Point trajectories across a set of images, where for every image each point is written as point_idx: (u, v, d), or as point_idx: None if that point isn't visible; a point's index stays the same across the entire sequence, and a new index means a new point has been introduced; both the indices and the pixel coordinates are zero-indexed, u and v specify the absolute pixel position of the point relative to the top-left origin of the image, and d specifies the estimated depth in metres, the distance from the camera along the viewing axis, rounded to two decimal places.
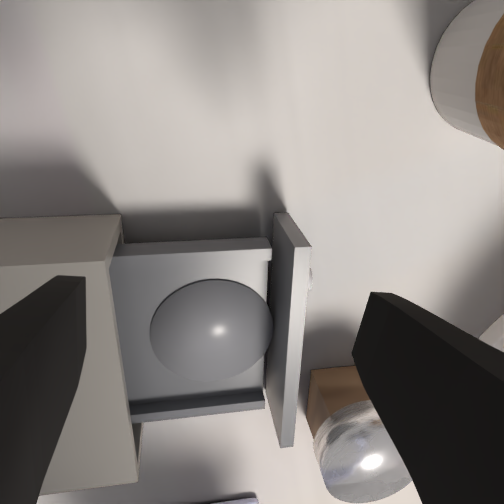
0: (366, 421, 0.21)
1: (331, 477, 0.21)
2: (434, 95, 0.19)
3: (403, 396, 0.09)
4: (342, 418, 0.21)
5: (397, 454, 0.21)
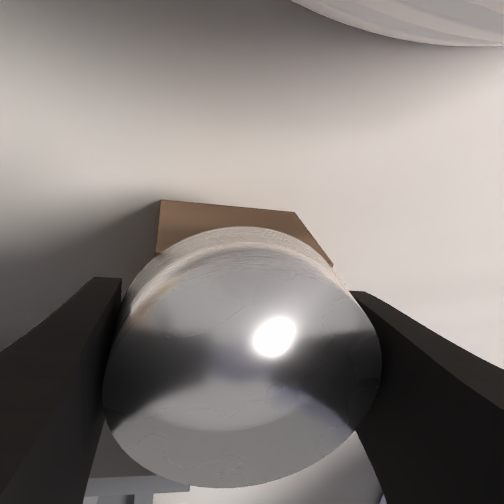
0: None
1: (241, 476, 0.09)
2: None
3: None
4: None
5: (210, 350, 0.07)
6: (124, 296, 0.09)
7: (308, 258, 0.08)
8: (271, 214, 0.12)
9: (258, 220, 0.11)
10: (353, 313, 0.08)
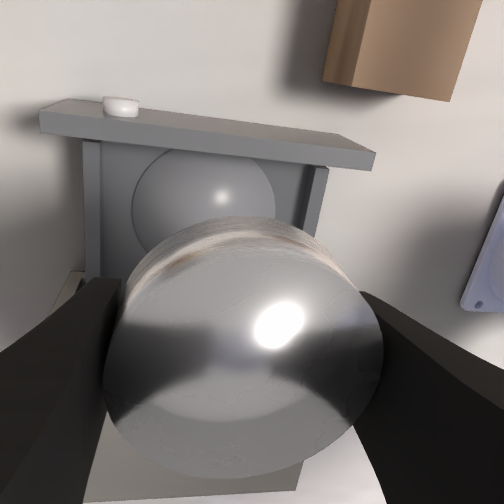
0: None
1: (237, 467, 0.09)
2: None
3: None
4: None
5: (214, 336, 0.07)
6: (127, 281, 0.09)
7: (315, 249, 0.08)
8: None
9: None
10: (358, 305, 0.08)
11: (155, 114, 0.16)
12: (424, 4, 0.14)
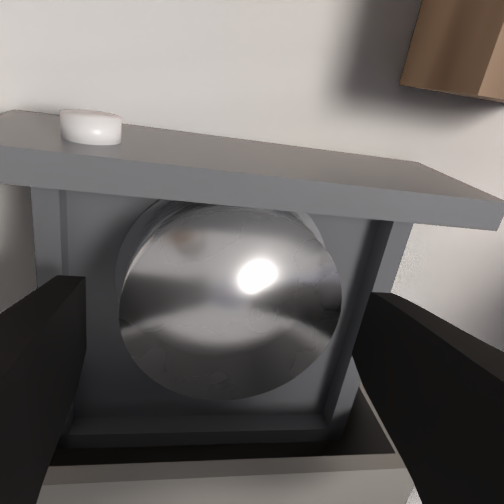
0: None
1: (226, 390, 0.11)
2: None
3: (403, 397, 0.09)
4: None
5: (206, 275, 0.09)
6: (136, 239, 0.11)
7: None
8: None
9: None
10: (319, 251, 0.10)
11: (150, 136, 0.10)
12: None
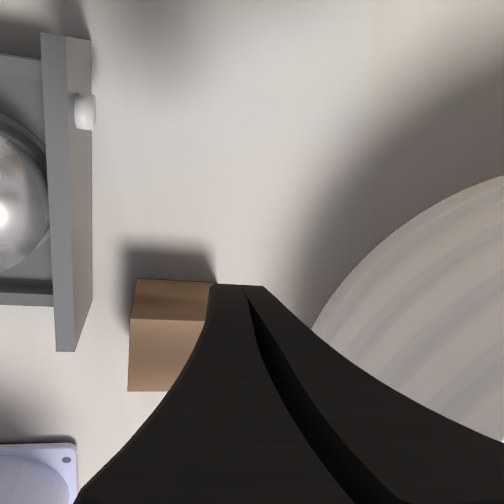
0: None
1: None
2: None
3: None
4: None
5: None
6: (5, 123, 0.15)
7: (48, 228, 0.16)
8: None
9: None
10: (23, 254, 0.15)
11: (84, 138, 0.16)
12: None
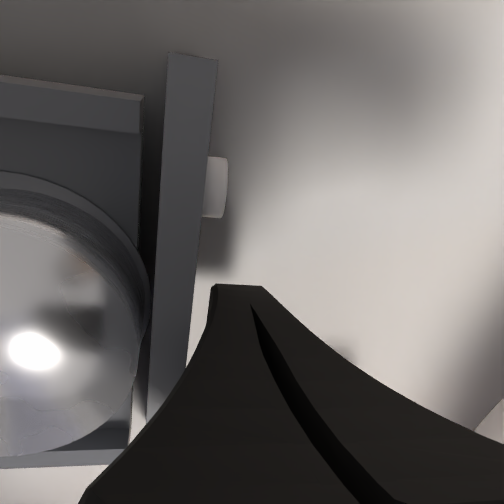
0: None
1: None
2: None
3: None
4: None
5: (48, 321, 0.08)
6: (64, 201, 0.09)
7: None
8: None
9: None
10: (97, 420, 0.09)
11: None
12: None
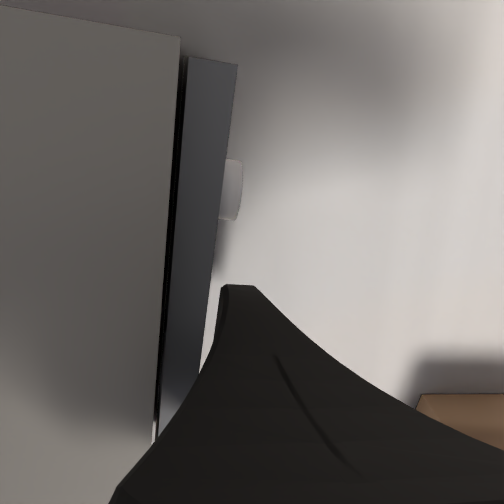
0: None
1: None
2: None
3: None
4: None
5: None
6: None
7: None
8: None
9: None
10: None
11: None
12: None
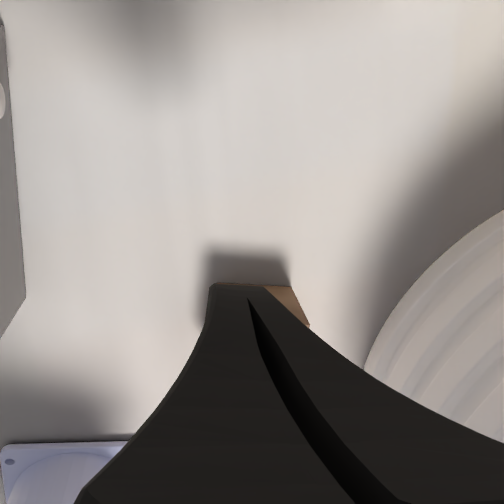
0: None
1: None
2: None
3: None
4: None
5: None
6: None
7: None
8: None
9: None
10: None
11: None
12: None
